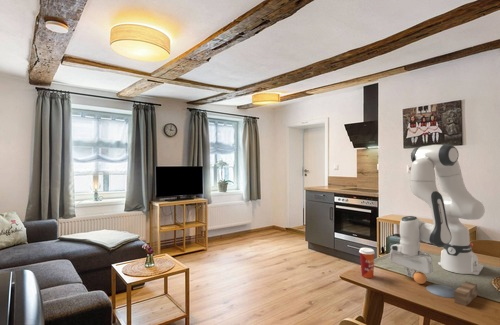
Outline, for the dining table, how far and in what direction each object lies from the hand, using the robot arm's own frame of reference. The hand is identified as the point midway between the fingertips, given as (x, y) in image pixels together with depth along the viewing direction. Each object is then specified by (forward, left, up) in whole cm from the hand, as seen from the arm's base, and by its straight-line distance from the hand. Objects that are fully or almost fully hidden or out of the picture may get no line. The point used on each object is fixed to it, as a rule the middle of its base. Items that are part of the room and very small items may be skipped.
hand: (410, 276), depth 142 cm
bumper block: (0, +24, -2) cm, 24 cm away
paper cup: (+13, -15, -2) cm, 20 cm away
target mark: (0, +15, -2) cm, 15 cm away
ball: (0, +5, +1) cm, 5 cm away
